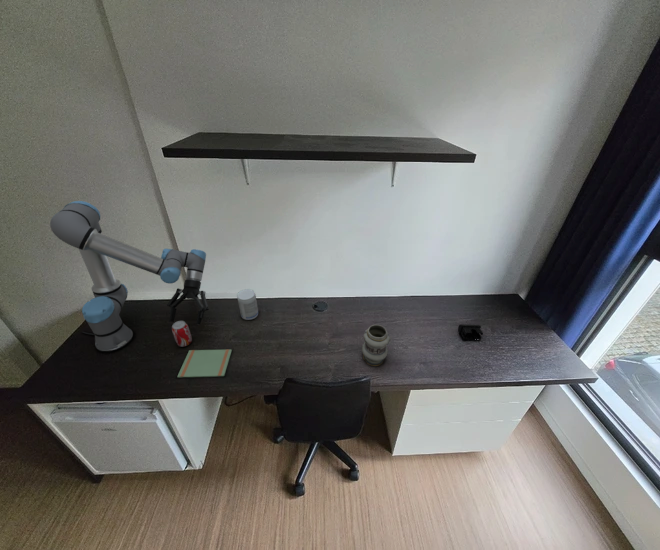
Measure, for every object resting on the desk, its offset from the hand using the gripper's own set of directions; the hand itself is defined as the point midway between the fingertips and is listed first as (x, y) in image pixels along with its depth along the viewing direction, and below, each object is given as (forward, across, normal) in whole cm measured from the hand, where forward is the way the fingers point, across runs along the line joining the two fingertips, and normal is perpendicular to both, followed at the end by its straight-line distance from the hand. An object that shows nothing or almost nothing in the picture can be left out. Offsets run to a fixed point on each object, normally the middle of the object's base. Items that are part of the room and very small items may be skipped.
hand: (184, 323), depth 141 cm
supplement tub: (-8, -24, -22) cm, 33 cm away
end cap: (-8, -143, -22) cm, 145 cm away
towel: (+17, -16, +3) cm, 23 cm away
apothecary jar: (+7, -93, -7) cm, 93 cm away
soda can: (+10, 0, -4) cm, 10 cm away
